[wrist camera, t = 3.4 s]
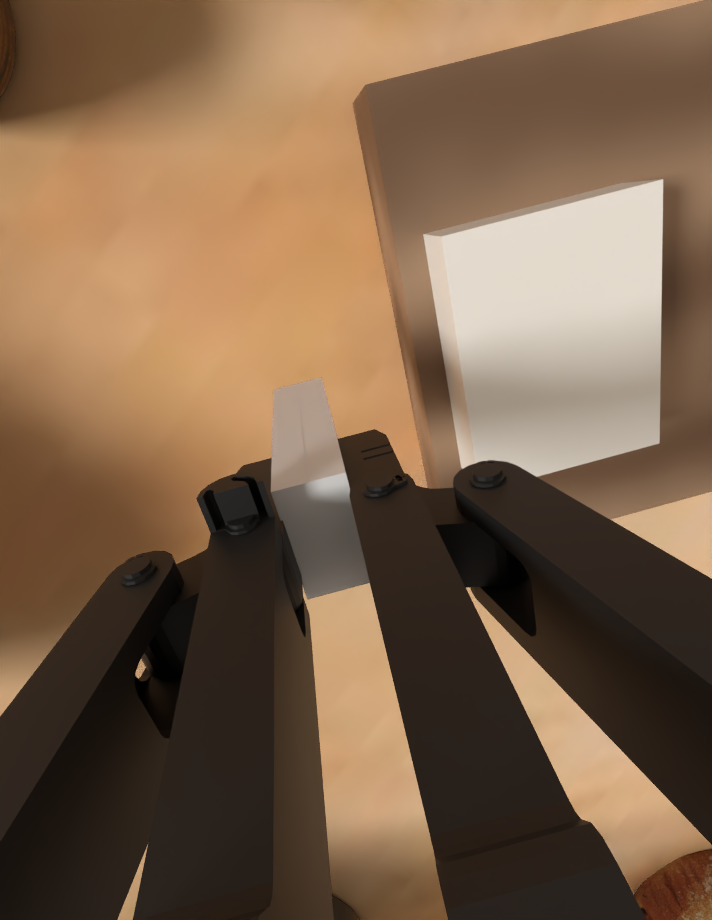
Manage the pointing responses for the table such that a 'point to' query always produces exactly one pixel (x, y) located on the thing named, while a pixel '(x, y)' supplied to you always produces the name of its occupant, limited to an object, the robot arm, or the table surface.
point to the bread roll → (679, 890)
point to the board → (551, 178)
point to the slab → (553, 328)
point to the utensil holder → (6, 44)
